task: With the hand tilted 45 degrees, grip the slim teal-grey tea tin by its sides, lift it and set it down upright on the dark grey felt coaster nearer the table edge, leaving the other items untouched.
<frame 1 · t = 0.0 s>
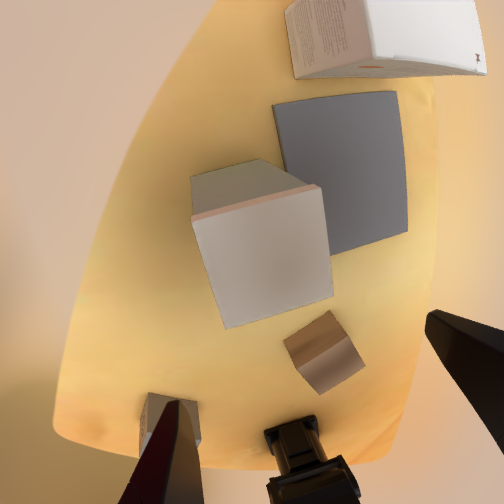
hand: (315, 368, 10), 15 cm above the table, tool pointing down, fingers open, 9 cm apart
dice cube: (167, 409, 30), on the table
tea tin: (234, 201, 22), on the table
felt coaster: (349, 173, 23), on the table
small box: (337, 44, 19), on the table
walnut block: (317, 340, 29), on the table
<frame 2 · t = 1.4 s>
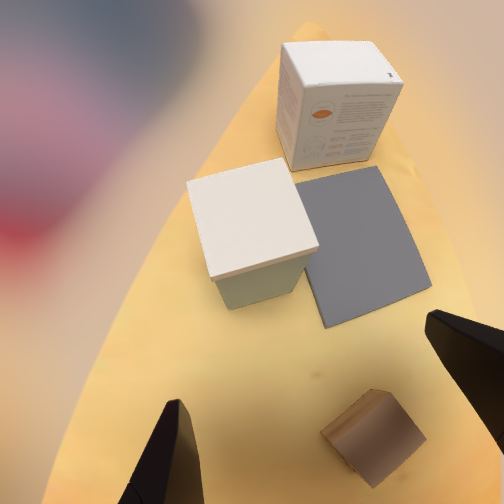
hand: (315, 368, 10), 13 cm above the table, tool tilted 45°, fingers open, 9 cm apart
tea tin: (250, 270, 25), on the table
felt coaster: (355, 239, 26), on the table
small box: (320, 145, 29), on the table
walnut block: (363, 432, 21), on the table
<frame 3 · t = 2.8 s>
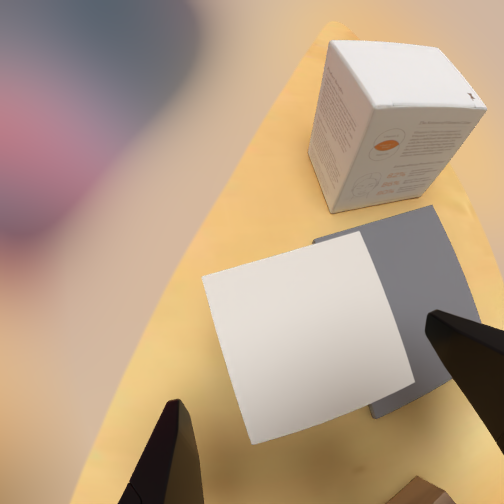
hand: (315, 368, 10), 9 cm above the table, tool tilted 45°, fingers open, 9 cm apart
tea tin: (282, 351, 18), on the table
felt coaster: (410, 303, 19), on the table
small box: (364, 176, 23), on the table
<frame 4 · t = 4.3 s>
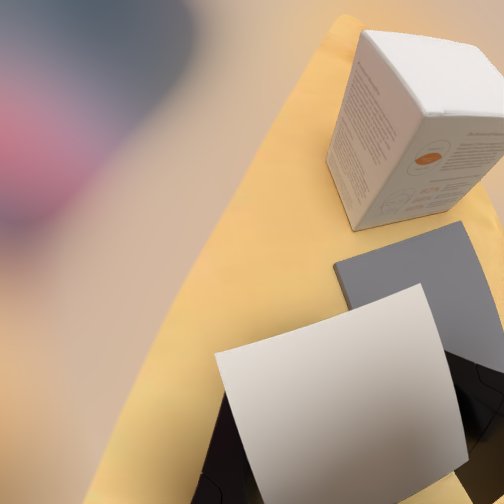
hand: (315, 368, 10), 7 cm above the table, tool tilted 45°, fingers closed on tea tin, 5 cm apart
tea tin: (299, 391, 16), on the table, touching gripper
felt coaster: (437, 332, 16), on the table
small box: (388, 187, 20), on the table
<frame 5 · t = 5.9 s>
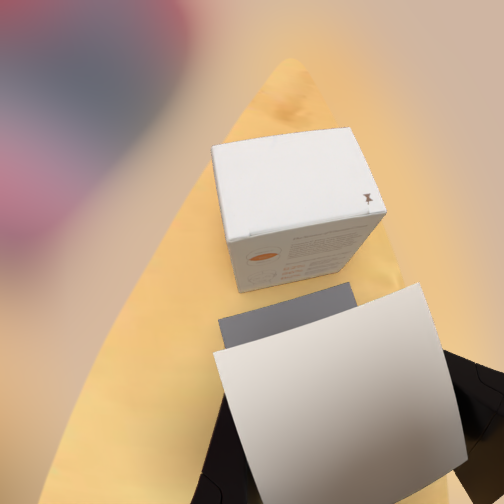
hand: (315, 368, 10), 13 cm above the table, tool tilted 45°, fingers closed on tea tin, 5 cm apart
tea tin: (299, 391, 16), point 6 cm above the table, touching gripper
felt coaster: (308, 380, 21), on the table
small box: (281, 251, 25), on the table
when the fingers open (8 cm above the table, at t = 7.5 s): tea tin stays where it is, resting on felt coaster.
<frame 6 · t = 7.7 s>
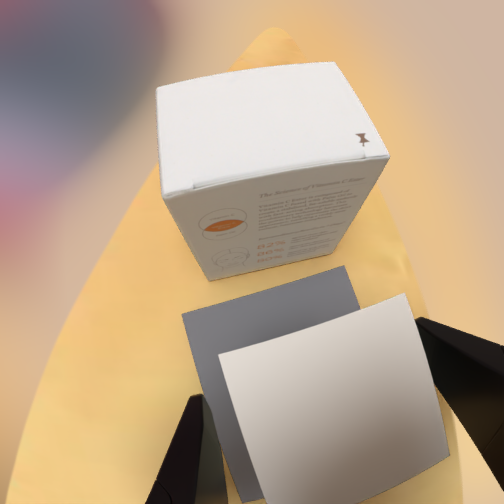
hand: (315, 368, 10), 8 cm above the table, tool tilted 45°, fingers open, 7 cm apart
tea tin: (296, 389, 16), point 1 cm above the table, touching felt coaster
felt coaster: (295, 388, 17), on the table
small box: (260, 230, 21), on the table
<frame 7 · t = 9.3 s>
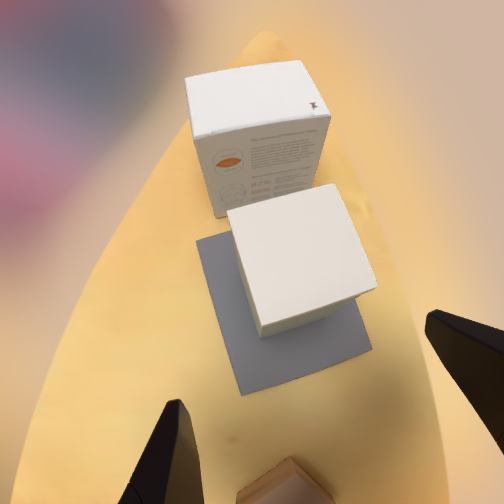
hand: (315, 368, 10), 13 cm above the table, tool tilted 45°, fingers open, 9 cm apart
tea tin: (282, 295, 23), point 1 cm above the table, touching felt coaster
felt coaster: (282, 297, 24), on the table
small box: (254, 183, 27), on the table
walnut block: (284, 495, 19), on the table
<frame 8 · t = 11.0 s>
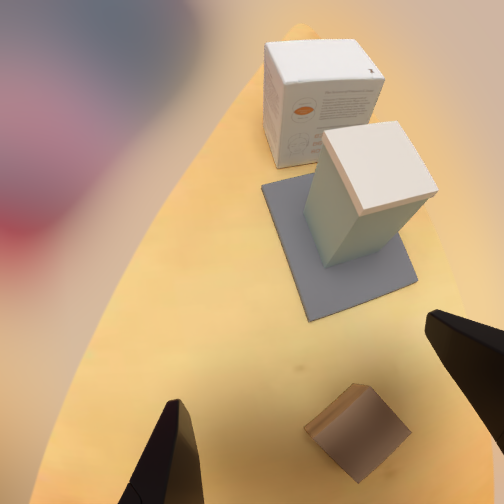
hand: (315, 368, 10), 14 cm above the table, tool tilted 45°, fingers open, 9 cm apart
tea tin: (341, 231, 26), point 1 cm above the table, touching felt coaster
felt coaster: (340, 234, 26), on the table
small box: (307, 143, 30), on the table
walnut block: (348, 427, 21), on the table
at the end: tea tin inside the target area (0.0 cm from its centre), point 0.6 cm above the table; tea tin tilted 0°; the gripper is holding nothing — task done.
